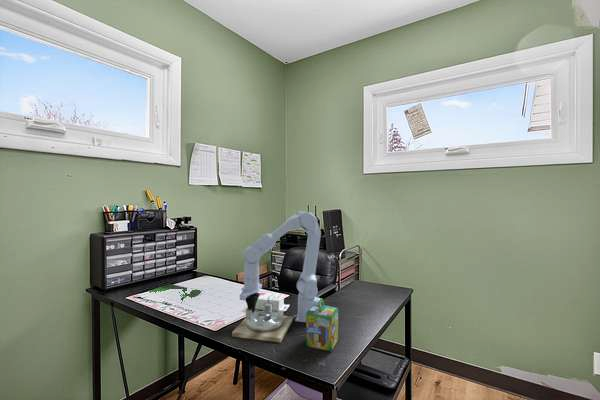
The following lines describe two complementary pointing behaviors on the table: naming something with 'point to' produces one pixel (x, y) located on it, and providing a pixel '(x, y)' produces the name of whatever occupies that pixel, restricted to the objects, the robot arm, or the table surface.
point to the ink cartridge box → (271, 301)
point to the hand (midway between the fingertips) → (251, 312)
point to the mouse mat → (171, 286)
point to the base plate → (267, 336)
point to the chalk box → (322, 326)
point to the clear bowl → (264, 319)
